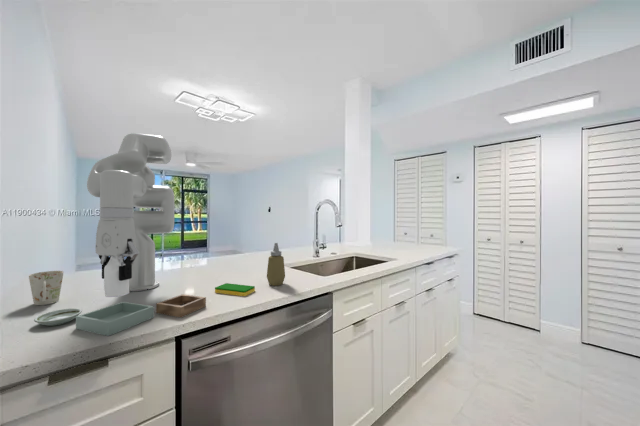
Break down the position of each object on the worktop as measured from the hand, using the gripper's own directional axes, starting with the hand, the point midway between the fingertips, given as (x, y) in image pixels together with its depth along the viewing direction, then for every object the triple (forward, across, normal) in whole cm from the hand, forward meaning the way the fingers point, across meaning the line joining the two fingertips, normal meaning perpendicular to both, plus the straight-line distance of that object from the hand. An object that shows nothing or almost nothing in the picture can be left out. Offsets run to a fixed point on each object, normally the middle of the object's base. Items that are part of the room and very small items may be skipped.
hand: (116, 278), depth 75 cm
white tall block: (+5, 0, 0) cm, 5 cm away
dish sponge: (+13, +13, +36) cm, 41 cm away
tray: (+13, 0, 0) cm, 13 cm away
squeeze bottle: (+13, +23, +51) cm, 57 cm away
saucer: (+13, -16, -5) cm, 21 cm away
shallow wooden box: (+13, +9, +14) cm, 21 cm away
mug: (+13, -38, +3) cm, 40 cm away
